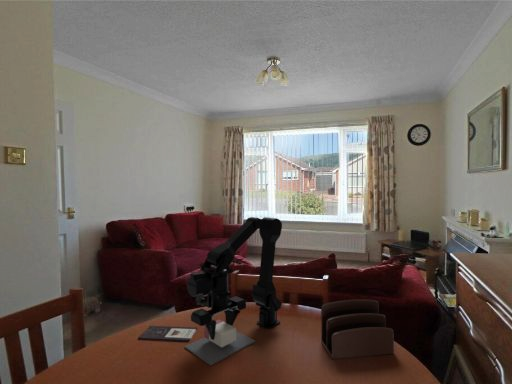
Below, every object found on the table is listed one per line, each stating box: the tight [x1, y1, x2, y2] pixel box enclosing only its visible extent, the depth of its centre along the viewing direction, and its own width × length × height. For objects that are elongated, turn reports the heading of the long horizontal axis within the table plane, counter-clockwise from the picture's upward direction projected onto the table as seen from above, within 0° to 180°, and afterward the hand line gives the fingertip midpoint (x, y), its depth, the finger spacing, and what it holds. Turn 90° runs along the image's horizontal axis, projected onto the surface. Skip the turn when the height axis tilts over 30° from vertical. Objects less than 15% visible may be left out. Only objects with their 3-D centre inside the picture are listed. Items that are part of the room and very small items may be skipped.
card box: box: [203, 319, 237, 347], centre depth 100 cm, size 9×6×4 cm, turn 45°
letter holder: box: [320, 298, 395, 360], centre depth 97 cm, size 10×20×14 cm, turn 97°
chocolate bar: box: [137, 325, 198, 343], centre depth 108 cm, size 9×1×18 cm
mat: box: [184, 330, 256, 367], centre depth 100 cm, size 18×14×1 cm
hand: (220, 335), depth 100 cm, fingers closed on card box, 6 cm apart
